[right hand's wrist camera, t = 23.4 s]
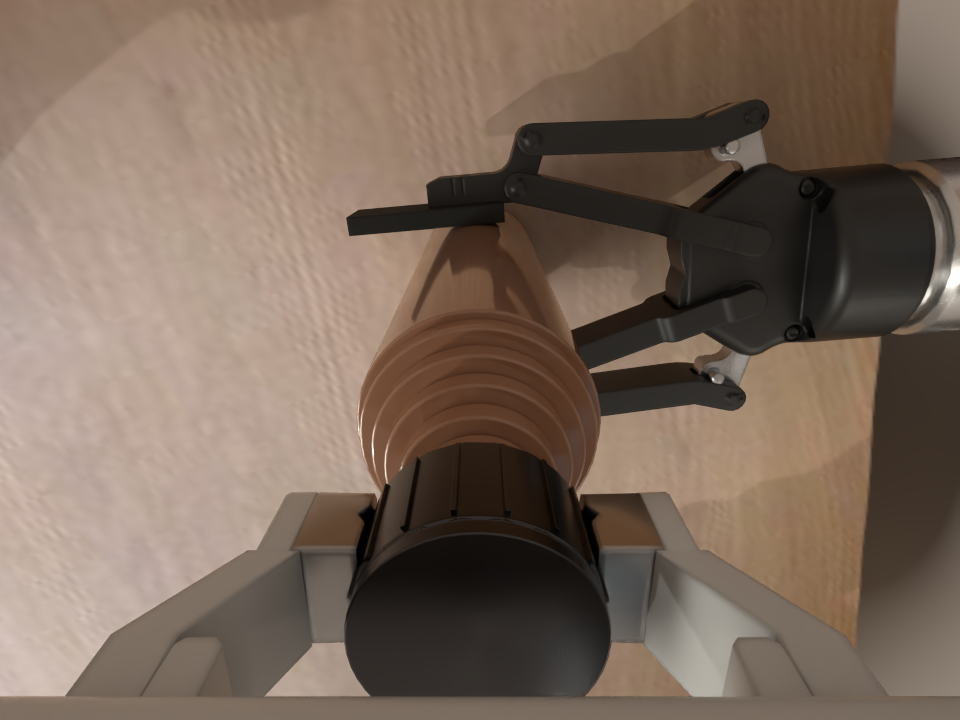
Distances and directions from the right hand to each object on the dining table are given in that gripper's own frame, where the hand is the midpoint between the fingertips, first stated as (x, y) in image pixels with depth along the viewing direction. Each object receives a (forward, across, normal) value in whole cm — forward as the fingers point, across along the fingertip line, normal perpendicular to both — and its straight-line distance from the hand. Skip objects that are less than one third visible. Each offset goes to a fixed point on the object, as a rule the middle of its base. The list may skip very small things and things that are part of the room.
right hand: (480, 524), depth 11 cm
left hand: (+17, -5, 0) cm, 18 cm away
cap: (-2, 0, 0) cm, 2 cm away
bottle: (+24, 0, 0) cm, 24 cm away
